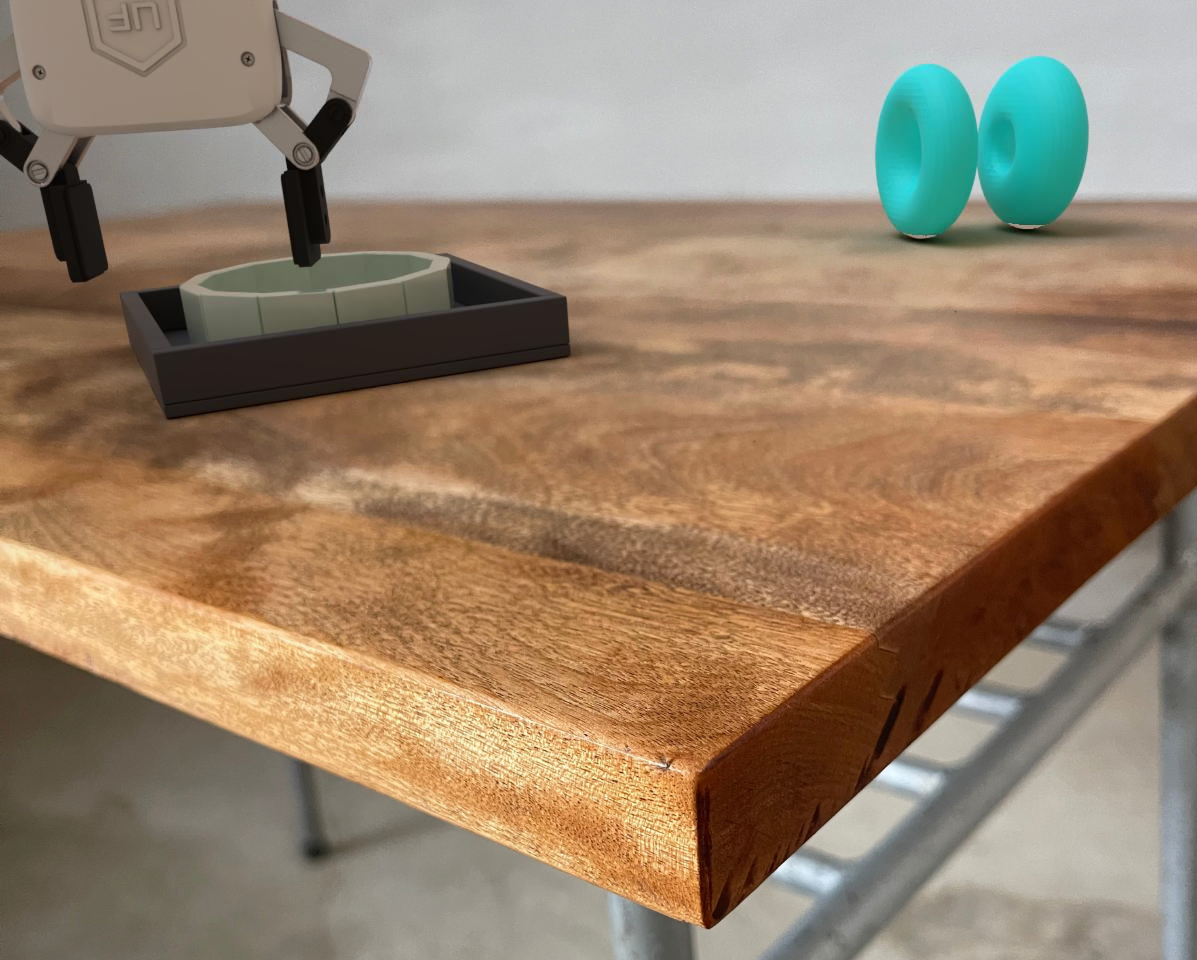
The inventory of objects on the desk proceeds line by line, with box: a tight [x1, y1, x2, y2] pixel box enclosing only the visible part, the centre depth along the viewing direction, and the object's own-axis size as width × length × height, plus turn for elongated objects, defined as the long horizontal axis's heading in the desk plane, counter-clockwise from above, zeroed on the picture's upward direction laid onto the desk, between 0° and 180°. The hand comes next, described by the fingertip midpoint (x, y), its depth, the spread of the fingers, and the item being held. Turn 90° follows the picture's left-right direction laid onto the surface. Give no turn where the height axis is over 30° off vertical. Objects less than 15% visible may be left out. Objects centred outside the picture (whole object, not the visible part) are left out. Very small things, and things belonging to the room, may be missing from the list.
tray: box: [118, 252, 572, 419], centre depth 56 cm, size 17×17×2 cm
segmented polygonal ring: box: [179, 250, 455, 344], centre depth 56 cm, size 12×12×3 cm
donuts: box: [874, 55, 1090, 236], centre depth 75 cm, size 10×10×10 cm
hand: (199, 270), depth 55 cm, fingers open, 9 cm apart
